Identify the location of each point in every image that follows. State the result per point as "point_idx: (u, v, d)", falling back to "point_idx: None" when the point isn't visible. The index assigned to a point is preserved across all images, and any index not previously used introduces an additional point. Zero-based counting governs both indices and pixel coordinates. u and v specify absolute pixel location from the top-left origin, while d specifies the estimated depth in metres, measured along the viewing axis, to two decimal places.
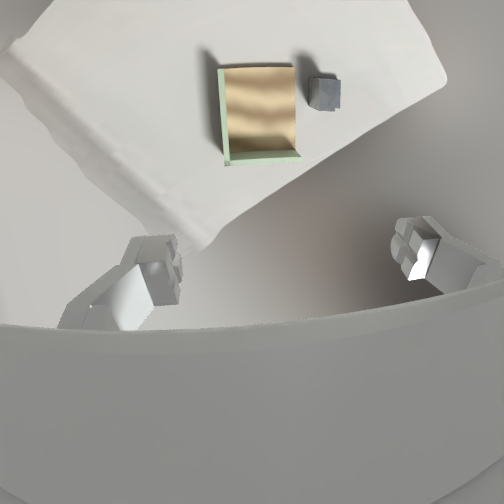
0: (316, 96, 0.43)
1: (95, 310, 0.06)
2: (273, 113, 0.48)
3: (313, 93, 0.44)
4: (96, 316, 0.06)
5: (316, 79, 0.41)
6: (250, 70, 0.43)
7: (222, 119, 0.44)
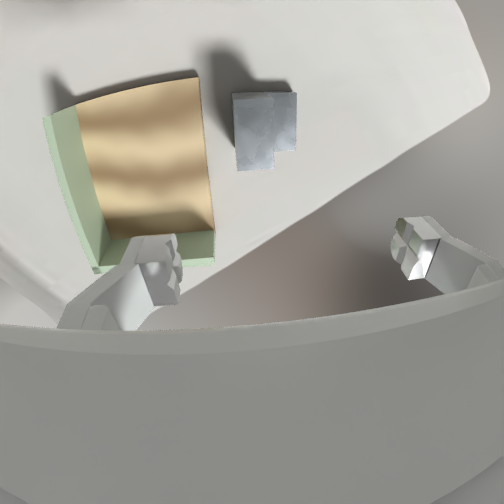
0: None
1: (95, 310, 0.06)
2: (166, 172, 0.27)
3: (234, 128, 0.23)
4: (96, 316, 0.06)
5: None
6: (116, 98, 0.22)
7: (68, 205, 0.23)
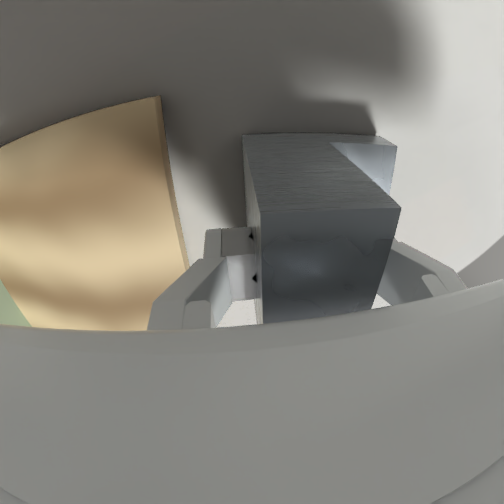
0: (257, 291, 0.08)
1: (194, 306, 0.06)
2: (117, 299, 0.14)
3: None
4: (198, 313, 0.06)
5: (253, 189, 0.07)
6: (0, 161, 0.08)
7: None
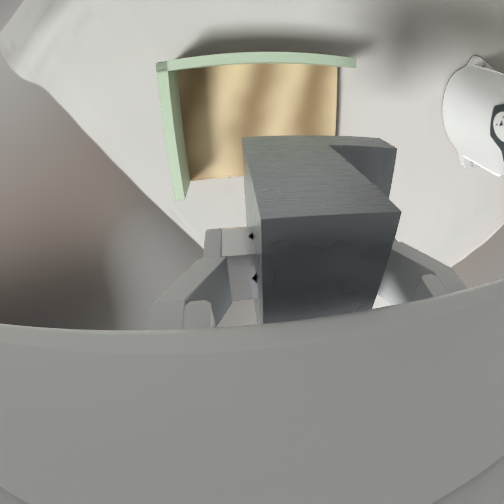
0: (257, 294, 0.08)
1: (195, 306, 0.06)
2: None
3: None
4: (198, 313, 0.06)
5: (253, 193, 0.07)
6: (331, 106, 0.27)
7: (257, 54, 0.20)
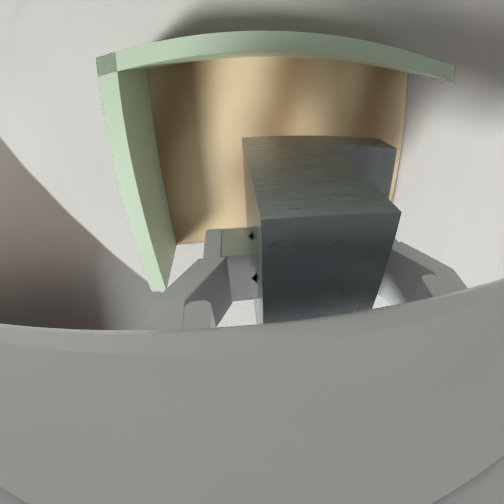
0: (257, 294, 0.08)
1: (194, 306, 0.06)
2: None
3: None
4: (198, 313, 0.06)
5: (253, 193, 0.07)
6: (395, 134, 0.17)
7: (295, 36, 0.09)
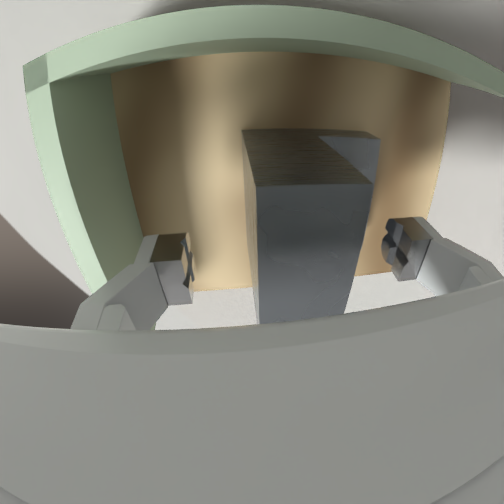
0: (253, 263, 0.10)
1: (111, 309, 0.06)
2: None
3: (249, 224, 0.11)
4: (112, 316, 0.06)
5: (250, 171, 0.08)
6: (433, 158, 0.13)
7: (328, 17, 0.05)
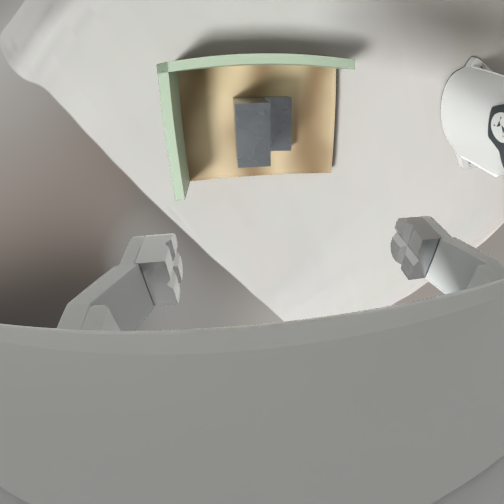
0: None
1: (95, 310, 0.06)
2: None
3: None
4: (96, 316, 0.06)
5: None
6: (330, 107, 0.28)
7: (256, 56, 0.20)
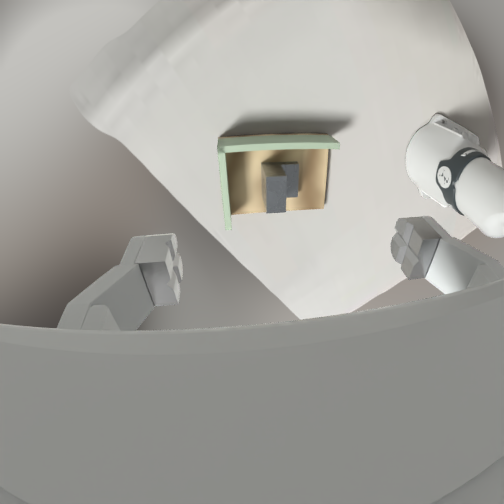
0: (265, 194, 0.42)
1: (95, 310, 0.06)
2: None
3: (263, 187, 0.44)
4: (96, 316, 0.06)
5: (264, 174, 0.41)
6: (323, 167, 0.46)
7: (279, 144, 0.38)
